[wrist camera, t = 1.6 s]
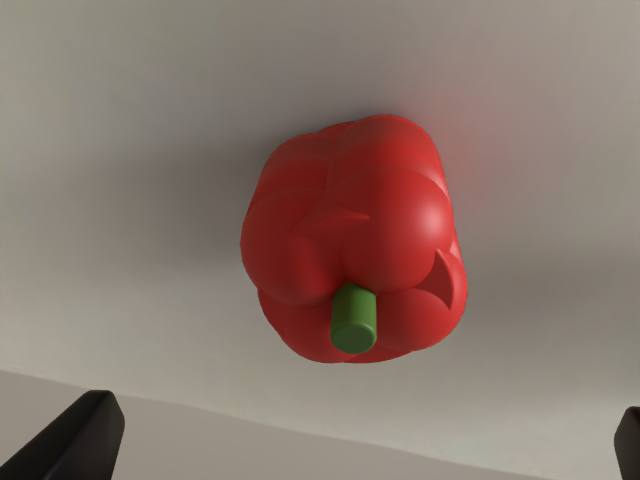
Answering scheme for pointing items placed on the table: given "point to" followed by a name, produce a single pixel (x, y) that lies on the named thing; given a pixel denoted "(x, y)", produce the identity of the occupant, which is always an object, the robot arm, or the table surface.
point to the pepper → (356, 243)
